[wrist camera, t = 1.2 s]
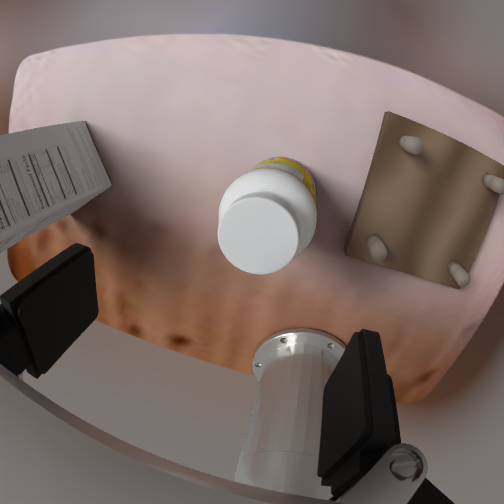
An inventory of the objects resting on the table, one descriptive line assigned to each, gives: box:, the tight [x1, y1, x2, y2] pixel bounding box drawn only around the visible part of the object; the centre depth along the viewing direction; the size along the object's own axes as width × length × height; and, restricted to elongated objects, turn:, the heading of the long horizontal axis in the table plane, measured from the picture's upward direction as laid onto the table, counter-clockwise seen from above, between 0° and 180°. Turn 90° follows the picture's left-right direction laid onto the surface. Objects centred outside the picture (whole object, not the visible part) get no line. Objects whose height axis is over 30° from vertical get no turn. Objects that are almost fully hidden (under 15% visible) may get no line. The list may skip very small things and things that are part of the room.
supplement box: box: [0, 121, 112, 253], centre depth 25 cm, size 10×9×17 cm
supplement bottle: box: [218, 157, 317, 274], centre depth 23 cm, size 7×7×13 cm
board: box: [344, 111, 504, 289], centre depth 24 cm, size 14×14×4 cm
